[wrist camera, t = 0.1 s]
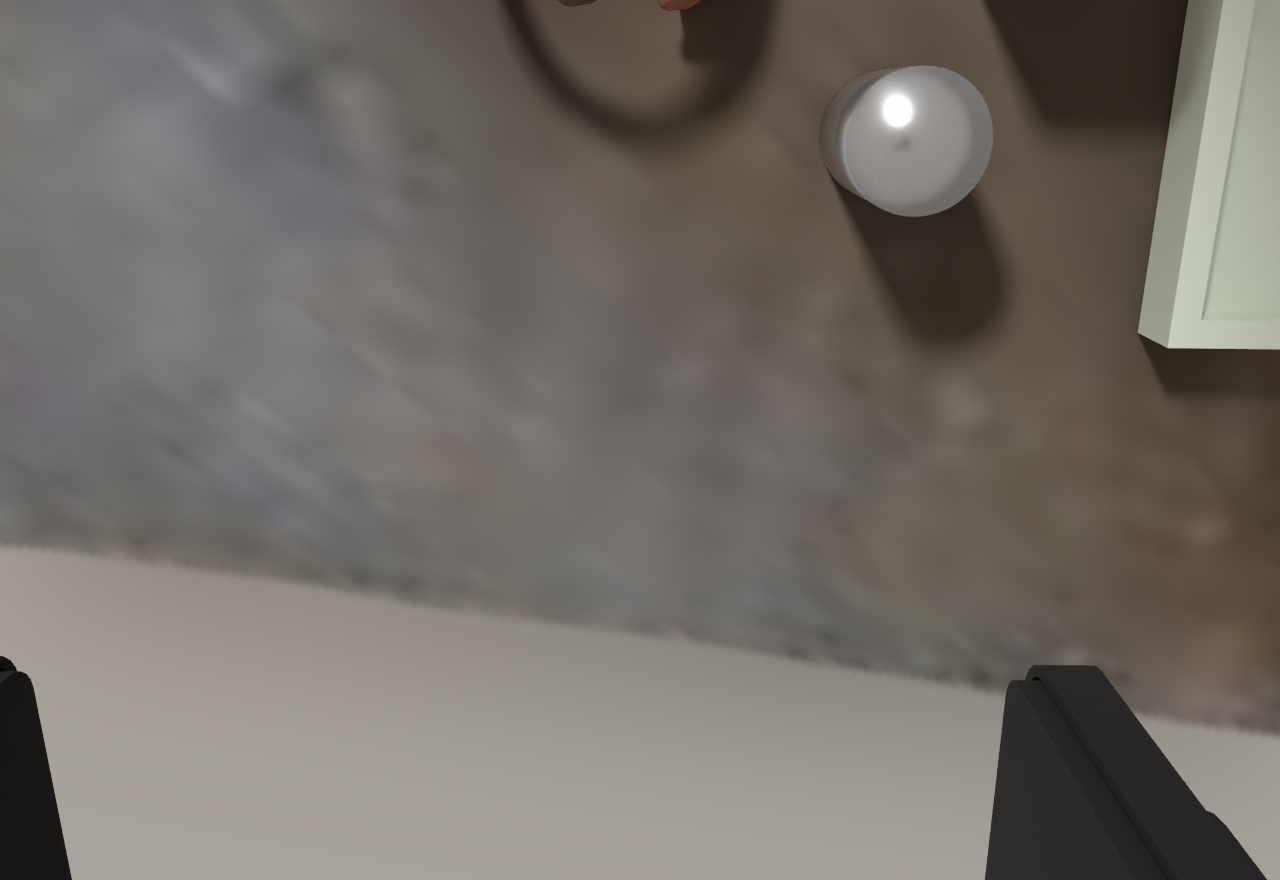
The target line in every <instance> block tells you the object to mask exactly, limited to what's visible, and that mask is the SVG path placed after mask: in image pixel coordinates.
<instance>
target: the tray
mask: <svg viewBox="0 0 1280 880" xmlns="http://www.w3.org/2000/svg"><path fill="white" fill-rule="evenodd" d="M1138 333H1139V334H1141V335H1143V336H1145V337H1147V338H1149V339H1151V340H1153V341H1155V342H1157V343H1159V344H1161V345H1163V346H1165V347H1166V348H1210V349H1280V0H1188V5H1187V12H1186V18H1185V25H1184V32H1183V38H1182V45H1181V51H1180V58H1179V64H1178V71H1177V78H1176V84H1175V91H1174V97H1173V104H1172V111H1171V117H1170V124H1169V130H1168V137H1167V143H1166V150H1165V157H1164V163H1163V170H1162V176H1161V183H1160V190H1159V196H1158V203H1157V209H1156V216H1155V223H1154V229H1153V236H1152V242H1151V249H1150V255H1149V262H1148V269H1147V275H1146V282H1145V288H1144V295H1143V302H1142V308H1141V315H1140V321H1139V328H1138Z"/></svg>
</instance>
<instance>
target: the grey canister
mask: <svg viewBox="0 0 1280 880" xmlns="http://www.w3.org/2000/svg"><path fill="white" fill-rule="evenodd" d="M819 144H820V151H821V155H822V158H823V161H824V163H825V166H826V168H827V169H828V171H829V173H830V174H831V175H832V177H833V178H834V179H835V180H836V181H837V182H838V183H839V184H840V185H841V186H843V187H844V188H845V189H847V190H848V191H850V192H852V193H854V194H856V195H857V196H859V197H861V198H863V199H865V200H867V201H868V202H870V203H872V204H874V205H876V206H877V207H879V208H881V209H883V210H885V211H887V212H890V213H893V214H896V215H901V216H908V217H920V216H927V215H932V214H935V213H938V212H941V211H943V210H946V209H948V208H950V207H952V206H953V205H955V204H956V203H958V202H959V201H960V200H962V199H963V198H964V197H965V196H967V194H968V193H969V192H970V191H971V190H972V189H973V188H974V187H975V186H976V184H977V183H978V182H979V180H980V178H981V177H982V175H983V173H984V171H985V169H986V167H987V165H988V162H989V159H990V155H991V151H992V145H993V126H992V120H991V116H990V112H989V110H988V107H987V104H986V103H985V101H984V99H983V97H982V96H981V94H980V93H979V91H978V90H977V89H976V88H975V87H974V86H973V85H972V84H971V83H970V82H969V81H968V80H967V79H965V78H964V77H963V76H961V75H959V74H957V73H955V72H953V71H951V70H948V69H945V68H941V67H937V66H926V65H925V66H912V67H901V68H891V69H881V70H875V71H870V72H867V73H864V74H861V75H859V76H857V77H855V78H853V79H852V80H850V81H849V82H847V83H846V84H845V85H844V86H843V87H841V88H840V89H839V91H838V92H837V93H836V94H835V95H834V96H833V98H832V99H831V101H830V102H829V104H828V106H827V108H826V110H825V112H824V115H823V117H822V121H821V125H820V133H819Z"/></svg>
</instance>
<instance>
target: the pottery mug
mask: <svg viewBox="0 0 1280 880" xmlns="http://www.w3.org/2000/svg"><path fill="white" fill-rule="evenodd" d="M558 1H559V2H560V3H562V4H563V5H565V6H578V5H584V4H590V3H593V2H595V1H596V0H558ZM700 1H702V0H658V3H659V5H660V6H661V7H662V8H663V9H664V10H668V11H671V10H679V9H680V10H687V9H690V8H692V7H693V6H694V5H696V4H697V3H699V2H700Z"/></svg>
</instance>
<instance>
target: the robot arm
mask: <svg viewBox="0 0 1280 880" xmlns="http://www.w3.org/2000/svg"><path fill="white" fill-rule="evenodd" d="M0 880H72V878H71V874H70V868H69V863H68V858H67V853H66V848H65V843H64V838H63V833H62V828H61V823H60V818H59V813H58V808H57V803H56V798H55V793H54V788H53V783H52V778H51V773H50V769H49V763H48V758H47V753H46V748H45V743H44V738H43V733H42V728H41V723H40V718H39V713H38V709H37V703H36V698H35V693H34V688H33V685H32V682H31V679H30V678H29V677H28V675H27V674H25V673H23V672H19V671H17V670H16V667H15V666H14V665H13V663H12V662H11V661H10V660H8V659H7V658H5V657H3V656H0ZM985 880H1267V879H1266V878H1265V876H1264V875H1263V874H1262V872H1261V871H1260V870H1259V868H1258V867H1257V866H1256V864H1255V863H1254V862H1253V861H1252V859H1251V858H1250V857H1249V855H1248V854H1247V853H1246V851H1245V850H1244V849H1243V848H1242V846H1241V845H1240V843H1239V842H1238V841H1237V839H1236V838H1235V837H1234V836H1233V834H1232V833H1231V832H1230V830H1229V829H1228V828H1227V826H1226V825H1225V824H1224V823H1223V822H1222V821H1221V820H1220V819H1219V818H1218V817H1217V816H1216V815H1215V814H1213V813H1211V812H1208V811H1206V810H1205V809H1204V807H1203V806H1202V805H1201V803H1200V802H1199V801H1198V800H1197V798H1196V797H1195V795H1194V794H1193V793H1192V791H1191V790H1190V789H1189V788H1188V786H1187V785H1186V783H1185V782H1184V781H1183V779H1182V778H1181V777H1180V775H1179V774H1178V773H1177V771H1176V770H1175V769H1174V767H1173V766H1172V765H1171V763H1170V762H1169V761H1168V759H1167V758H1166V757H1165V756H1164V754H1163V753H1162V751H1161V750H1160V749H1159V747H1158V746H1157V745H1156V743H1155V742H1154V741H1153V739H1152V738H1151V737H1150V735H1149V734H1148V733H1147V731H1146V730H1145V729H1144V727H1143V726H1142V725H1141V723H1140V722H1139V721H1138V719H1137V718H1136V717H1135V715H1134V714H1133V713H1132V711H1131V710H1130V709H1129V707H1128V706H1127V705H1126V703H1125V702H1124V701H1123V699H1122V698H1121V697H1120V695H1119V694H1118V693H1117V691H1116V690H1115V689H1114V687H1113V686H1112V685H1111V683H1110V682H1109V681H1108V679H1107V678H1106V677H1105V675H1104V674H1103V673H1102V671H1101V670H1100V669H1098V668H1097V667H1096V666H1082V665H1033V666H1032V667H1031V668H1030V669H1029V671H1028V673H1027V676H1026V679H1025V680H1012V681H1011V682H1010V683H1009V686H1008V688H1007V692H1006V698H1005V707H1004V716H1003V725H1002V734H1001V742H1000V751H999V760H998V769H997V778H996V786H995V795H994V804H993V814H992V822H991V831H990V839H989V849H988V857H987V866H986V875H985Z"/></svg>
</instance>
